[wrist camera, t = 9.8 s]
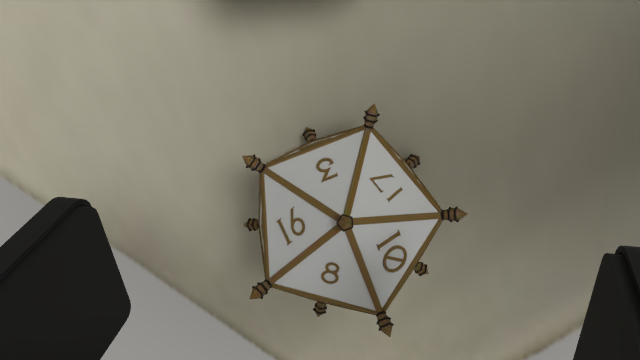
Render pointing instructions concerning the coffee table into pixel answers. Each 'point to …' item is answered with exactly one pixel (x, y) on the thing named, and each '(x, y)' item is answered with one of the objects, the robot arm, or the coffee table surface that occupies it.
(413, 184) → the game die
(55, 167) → the coffee table surface
